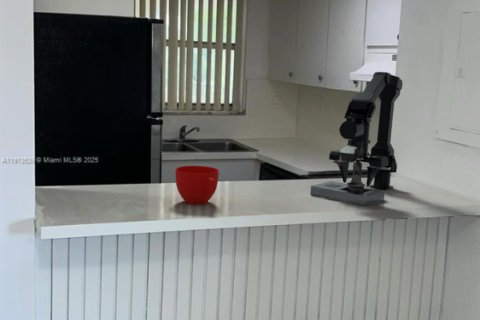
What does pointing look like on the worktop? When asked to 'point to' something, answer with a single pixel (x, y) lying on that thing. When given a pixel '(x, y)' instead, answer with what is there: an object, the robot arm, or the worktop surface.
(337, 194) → the grey flat block
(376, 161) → the robot arm
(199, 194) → the ceramic cup
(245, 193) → the worktop surface
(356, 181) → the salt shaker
